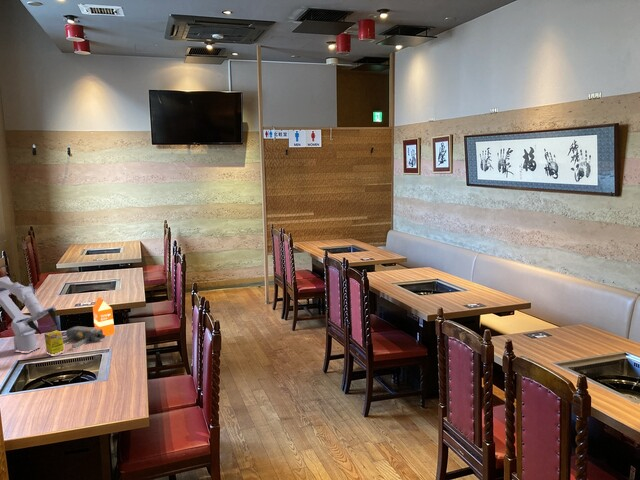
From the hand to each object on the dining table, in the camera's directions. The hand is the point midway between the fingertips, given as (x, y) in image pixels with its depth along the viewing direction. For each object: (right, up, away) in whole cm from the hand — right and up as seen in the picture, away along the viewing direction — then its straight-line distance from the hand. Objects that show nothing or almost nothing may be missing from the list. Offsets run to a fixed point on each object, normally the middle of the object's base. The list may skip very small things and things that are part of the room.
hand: (48, 328), depth 236 cm
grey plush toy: (+4, -11, +22) cm, 25 cm away
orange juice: (+12, -9, +35) cm, 38 cm away
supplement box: (-1, -14, +9) cm, 17 cm away
